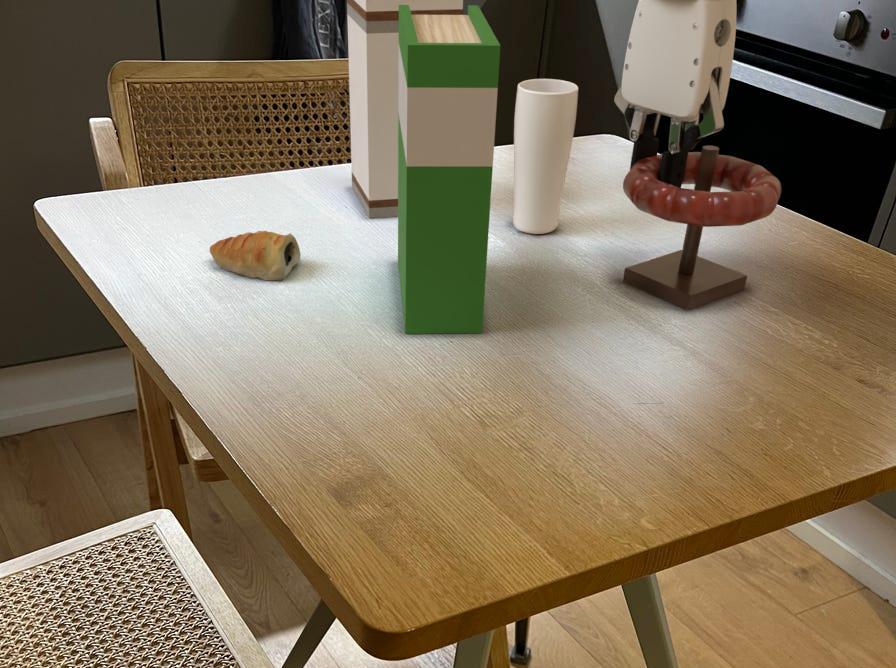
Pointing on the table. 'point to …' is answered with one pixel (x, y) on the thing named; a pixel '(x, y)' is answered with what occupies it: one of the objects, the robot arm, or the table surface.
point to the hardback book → (445, 167)
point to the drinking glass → (542, 151)
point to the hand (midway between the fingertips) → (654, 185)
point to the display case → (379, 96)
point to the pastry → (257, 254)
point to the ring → (742, 205)
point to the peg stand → (688, 261)
